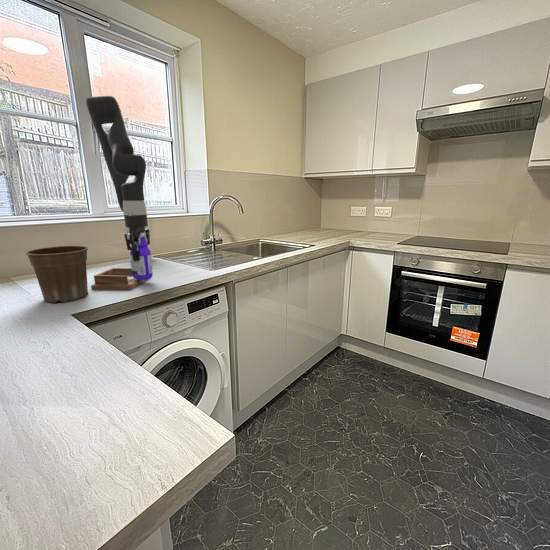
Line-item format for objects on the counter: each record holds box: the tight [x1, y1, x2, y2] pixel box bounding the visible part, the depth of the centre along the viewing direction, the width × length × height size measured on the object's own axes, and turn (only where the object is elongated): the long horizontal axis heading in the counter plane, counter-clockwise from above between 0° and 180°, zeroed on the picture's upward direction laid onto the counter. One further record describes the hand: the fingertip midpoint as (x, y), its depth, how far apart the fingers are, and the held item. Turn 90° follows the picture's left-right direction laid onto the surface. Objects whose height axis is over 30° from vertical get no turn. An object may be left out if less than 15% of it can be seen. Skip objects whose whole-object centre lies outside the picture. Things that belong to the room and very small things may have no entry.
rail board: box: [90, 267, 148, 291], centre depth 113 cm, size 16×14×4 cm
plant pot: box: [25, 245, 89, 304], centre depth 97 cm, size 16×16×16 cm
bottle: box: [129, 233, 154, 281], centre depth 111 cm, size 7×6×17 cm
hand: (140, 258), depth 111 cm, fingers closed on bottle, 6 cm apart
